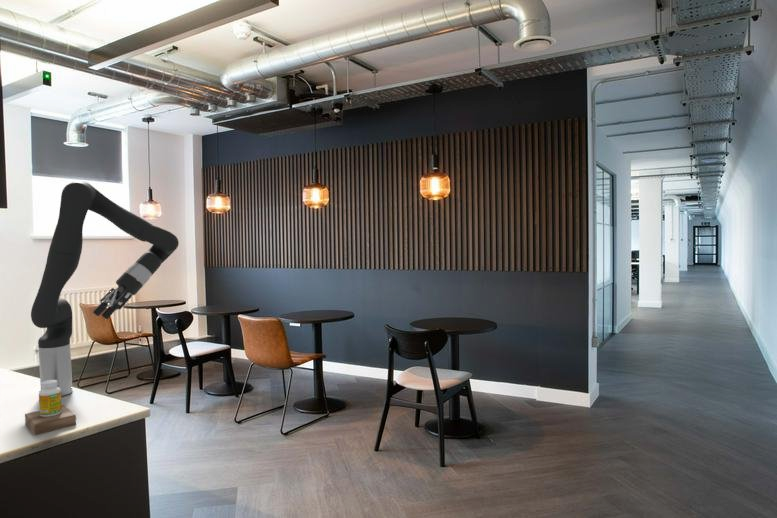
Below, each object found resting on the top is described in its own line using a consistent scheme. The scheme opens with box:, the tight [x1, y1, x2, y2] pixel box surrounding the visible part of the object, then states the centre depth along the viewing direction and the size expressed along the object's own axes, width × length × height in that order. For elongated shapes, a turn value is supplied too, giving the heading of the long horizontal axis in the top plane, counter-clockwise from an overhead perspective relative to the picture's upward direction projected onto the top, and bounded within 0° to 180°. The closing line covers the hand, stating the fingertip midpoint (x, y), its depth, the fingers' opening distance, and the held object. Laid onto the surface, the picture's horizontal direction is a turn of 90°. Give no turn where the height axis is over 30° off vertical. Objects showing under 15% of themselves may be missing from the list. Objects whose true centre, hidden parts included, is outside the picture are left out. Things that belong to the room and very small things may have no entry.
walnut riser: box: [24, 404, 77, 436], centre depth 149 cm, size 12×10×3 cm
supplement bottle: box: [38, 380, 62, 417], centre depth 149 cm, size 5×5×10 cm
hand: (99, 315), depth 168 cm, fingers open, 8 cm apart
